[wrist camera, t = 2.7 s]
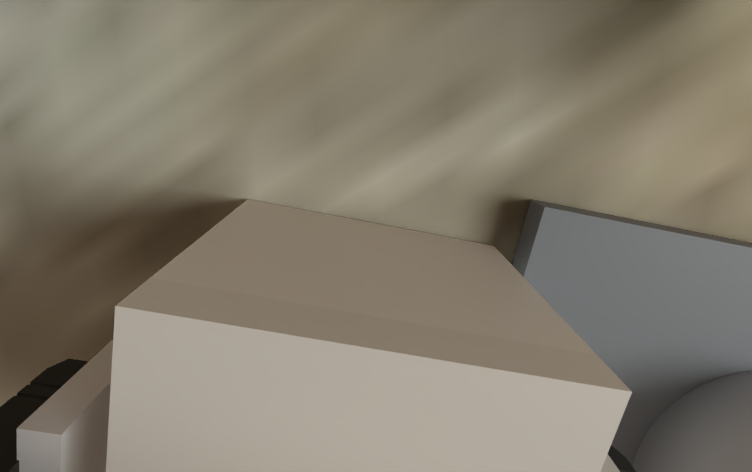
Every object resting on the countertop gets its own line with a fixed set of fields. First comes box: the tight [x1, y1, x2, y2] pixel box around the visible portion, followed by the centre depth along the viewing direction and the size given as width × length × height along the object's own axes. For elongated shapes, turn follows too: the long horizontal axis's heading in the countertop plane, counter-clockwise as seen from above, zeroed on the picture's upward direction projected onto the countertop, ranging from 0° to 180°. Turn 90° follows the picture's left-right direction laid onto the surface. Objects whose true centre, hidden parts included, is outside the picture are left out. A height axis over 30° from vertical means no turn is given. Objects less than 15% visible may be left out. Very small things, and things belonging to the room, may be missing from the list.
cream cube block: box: [106, 199, 632, 472], centre depth 12 cm, size 8×8×8 cm
